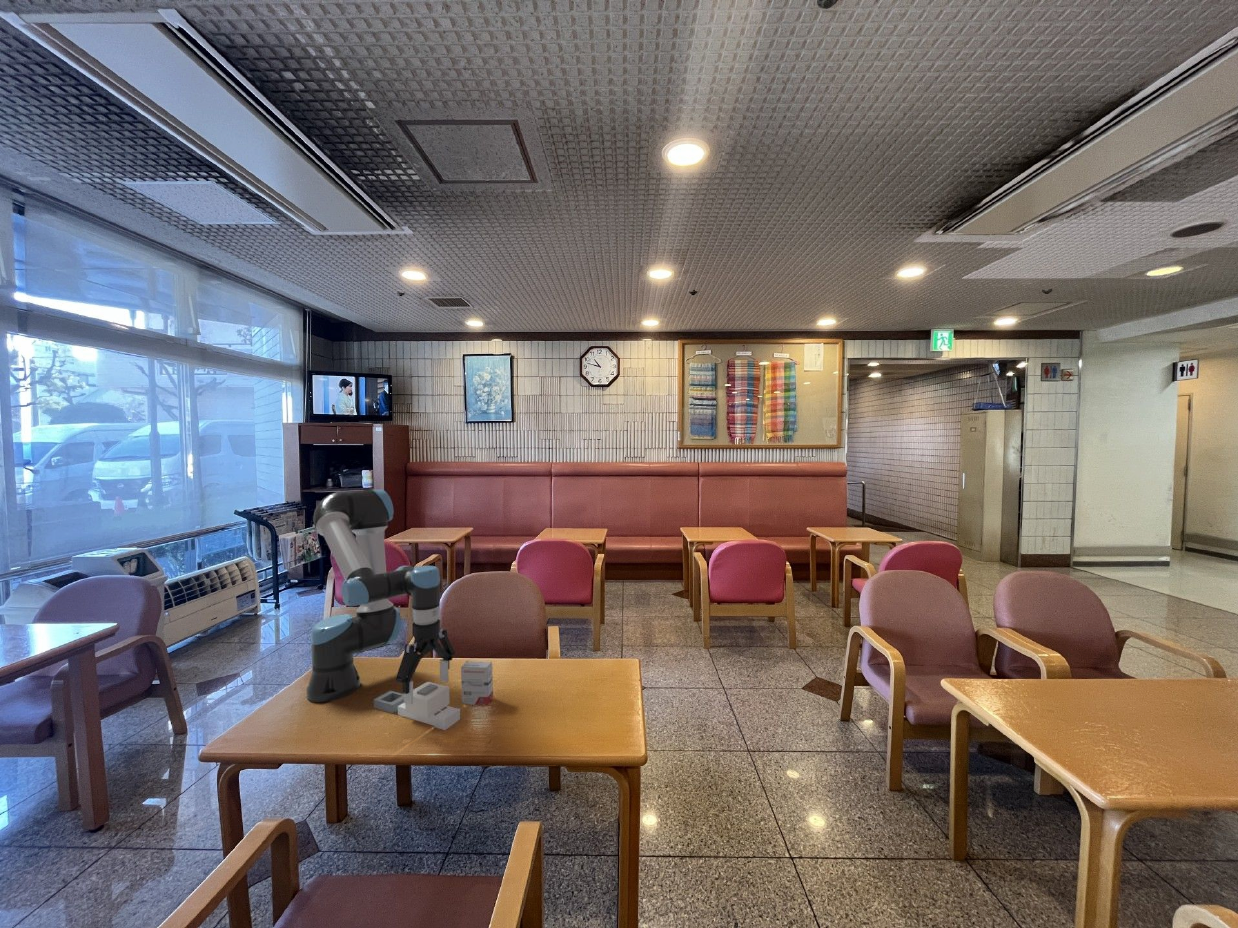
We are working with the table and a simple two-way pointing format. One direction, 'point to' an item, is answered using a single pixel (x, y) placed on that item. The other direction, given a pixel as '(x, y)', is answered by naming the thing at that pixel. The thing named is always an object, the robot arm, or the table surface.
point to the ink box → (477, 683)
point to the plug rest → (389, 701)
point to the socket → (435, 716)
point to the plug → (428, 699)
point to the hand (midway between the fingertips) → (427, 691)
